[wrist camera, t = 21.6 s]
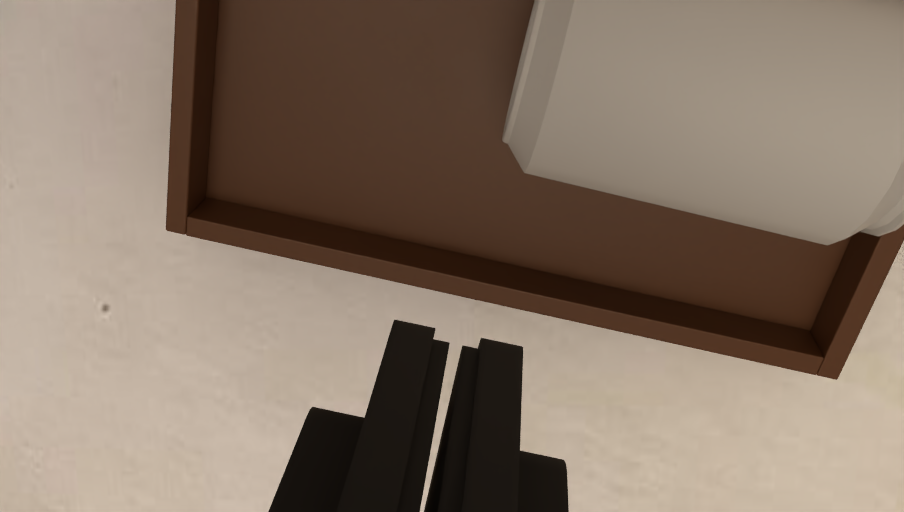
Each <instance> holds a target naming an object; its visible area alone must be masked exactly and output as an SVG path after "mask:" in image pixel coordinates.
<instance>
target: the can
mask: <svg viewBox="0 0 904 512" xmlns="http://www.w3.org/2000/svg"><path fill="white" fill-rule="evenodd" d="M502 141H503V142H504V143H507V144H508V145H509V147H510V149H511V151H512V152H513V154H514V156H515V158H516V160H517V161H518V163H519V165H520V167H521V168H522V170H523V172H524V173H526V174H530V175H535V176H539V177H543V178H547V179H551V180H556V181H560V182H564V183H568V184H572V185H576V186H581V187H585V188H589V189H593V190H597V191H602V192H606V193H610V194H614V195H618V196H622V197H627V198H631V199H635V200H639V201H643V202H648V203H652V204H656V205H660V206H664V207H668V208H673V209H677V210H681V211H685V212H689V213H694V214H698V215H702V216H706V217H710V218H714V219H719V220H723V221H727V222H731V223H735V224H740V225H744V226H748V227H752V228H756V229H761V230H765V231H769V232H773V233H777V234H781V235H786V236H790V237H794V238H798V239H802V240H807V241H811V242H815V243H819V244H823V245H830V244H833V243H836V242H838V241H841V240H844V239H846V238H848V237H850V236H852V235H854V234H856V233H857V232H859V231H861V232H863V233H867V234H871V235H874V236H881V235H884V234H887V233H890V232H893V231H896V230H897V229H899V228H900V227H901V226H902V225H903V224H904V0H535V1H534V5H533V8H532V12H531V16H530V20H529V24H528V28H527V32H526V36H525V40H524V45H523V49H522V53H521V57H520V61H519V65H518V69H517V74H516V78H515V82H514V86H513V90H512V95H511V99H510V104H509V108H508V112H507V117H506V122H505V126H504V131H503V137H502Z"/></svg>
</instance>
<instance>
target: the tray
mask: <svg viewBox="0 0 904 512" xmlns="http://www.w3.org/2000/svg"><path fill="white" fill-rule="evenodd" d="M534 1H535V0H176V14H175V36H174V59H173V81H172V104H171V126H170V148H169V171H168V193H167V216H166V230H167V231H171V232H175V233H180V234H186V235H187V236H191V237H196V238H200V239H205V240H209V241H214V242H218V243H223V244H227V245H232V246H236V247H241V248H245V249H250V250H254V251H259V252H263V253H268V254H272V255H277V256H281V257H286V258H290V259H295V260H300V261H304V262H309V263H313V264H318V265H322V266H327V267H331V268H336V269H340V270H345V271H349V272H354V273H358V274H363V275H367V276H372V277H376V278H381V279H385V280H390V281H394V282H399V283H403V284H408V285H412V286H417V287H421V288H426V289H430V290H435V291H439V292H444V293H448V294H453V295H457V296H462V297H466V298H471V299H475V300H480V301H484V302H489V303H493V304H498V305H502V306H507V307H511V308H516V309H520V310H525V311H529V312H534V313H538V314H543V315H547V316H552V317H556V318H561V319H565V320H570V321H574V322H579V323H583V324H588V325H593V326H597V327H602V328H606V329H611V330H615V331H620V332H624V333H629V334H633V335H638V336H642V337H647V338H651V339H656V340H660V341H665V342H669V343H674V344H678V345H683V346H687V347H692V348H696V349H701V350H705V351H710V352H714V353H719V354H723V355H728V356H732V357H737V358H741V359H746V360H750V361H755V362H759V363H764V364H768V365H773V366H777V367H782V368H786V369H791V370H795V371H800V372H804V373H809V374H813V375H816V374H817V375H818V376H823V377H827V378H832V379H838V377H839V375H840V373H841V371H842V368H843V366H844V364H845V362H846V360H847V358H848V356H849V354H850V352H851V350H852V347H853V345H854V343H855V341H856V339H857V337H858V335H859V333H860V331H861V329H862V326H863V324H864V322H865V320H866V318H867V316H868V314H869V312H870V310H871V308H872V306H873V303H874V301H875V299H876V297H877V295H878V293H879V291H880V289H881V287H882V285H883V282H884V280H885V278H886V276H887V274H888V272H889V270H890V268H891V266H892V264H893V261H894V259H895V257H896V255H897V253H898V251H899V249H900V247H901V245H902V243H903V240H904V224H903V225H902V226H901V227H900V228H899V229H897V230H896V231H893V232H890V233H887V234H884V235H881V236H874V235H871V234H867V233H863V232H861V231H859V232H857V233H856V234H854V235H852V236H850V237H848V238H846V239H844V240H841V241H838V242H836V243H833V244H830V245H823V244H819V243H815V242H811V241H807V240H802V239H798V238H794V237H790V236H786V235H781V234H777V233H773V232H769V231H765V230H761V229H756V228H752V227H748V226H744V225H740V224H735V223H731V222H727V221H723V220H719V219H714V218H710V217H706V216H702V215H698V214H694V213H689V212H685V211H681V210H677V209H673V208H668V207H664V206H660V205H656V204H652V203H648V202H643V201H639V200H635V199H631V198H627V197H622V196H618V195H614V194H610V193H606V192H602V191H597V190H593V189H589V188H585V187H581V186H576V185H572V184H568V183H564V182H560V181H556V180H551V179H547V178H543V177H539V176H535V175H530V174H526V173H524V172H523V170H522V168H521V167H520V165H519V163H518V161H517V160H516V158H515V156H514V154H513V152H512V151H511V149H510V147H509V145H508V144H507V143H504V142H503V141H502V137H503V131H504V126H505V122H506V117H507V112H508V108H509V104H510V99H511V95H512V90H513V86H514V82H515V78H516V74H517V69H518V65H519V61H520V57H521V53H522V49H523V45H524V40H525V36H526V32H527V28H528V24H529V20H530V16H531V12H532V8H533V5H534Z"/></svg>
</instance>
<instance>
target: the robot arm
mask: <svg viewBox="0 0 904 512" xmlns="http://www.w3.org/2000/svg"><path fill="white" fill-rule="evenodd" d="M434 333H435V328H432V327H427V326H422V325H417V324H413V323H408V322H403V321H398V320H394V322H393V325H392V328H391V332H390V335H389V338H388V342H387V345H386V348H385V352H384V355H383V358H382V362H381V365H380V368H379V372H378V375H377V378H376V382H375V385H374V388H373V392H372V395H371V398H370V402H369V405H368V408H367V412H366V415H365V418H363V417H358V416H353V415H348V414H344V413H339V412H334V411H330V410H325V409H320V408H315V407H312V408H311V409H310V411H309V413H308V415H307V417H306V420H305V422H304V425H303V427H302V430H301V432H300V435H299V437H298V440H297V442H296V445H295V447H294V450H293V452H292V455H291V457H290V460H289V462H288V464H287V467H286V469H285V472H284V474H283V477H282V479H281V482H280V484H279V487H278V489H277V492H276V494H275V497H274V499H273V502H272V504H271V507H270V509H269V512H420V506H421V501H422V495H423V489H424V484H425V478H426V472H427V467H428V461H429V456H430V450H431V444H432V439H433V433H434V427H435V422H436V416H437V411H438V405H439V399H440V394H441V388H442V383H443V377H444V371H445V366H446V360H447V354H448V349H449V343H448V342H444V341H439V340H434V339H433V337H434ZM522 367H523V347H522V346H517V345H512V344H507V343H503V342H498V341H493V340H488V339H484V338H481V340H480V343H479V346H478V349H477V348H472V347H467V346H462V350H461V354H460V358H459V362H458V367H457V371H456V375H455V380H454V384H453V388H452V393H451V397H450V401H449V406H448V410H447V414H446V419H445V423H444V427H443V432H442V436H441V440H440V445H439V449H438V453H437V458H436V462H435V466H434V471H433V475H432V479H431V484H430V488H429V492H428V497H427V501H426V505H425V510H424V512H569V510H568V486H567V469H566V463H565V461H564V460H562V459H557V458H552V457H547V456H543V455H538V454H533V453H529V452H524V451H520V427H521V397H522Z"/></svg>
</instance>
